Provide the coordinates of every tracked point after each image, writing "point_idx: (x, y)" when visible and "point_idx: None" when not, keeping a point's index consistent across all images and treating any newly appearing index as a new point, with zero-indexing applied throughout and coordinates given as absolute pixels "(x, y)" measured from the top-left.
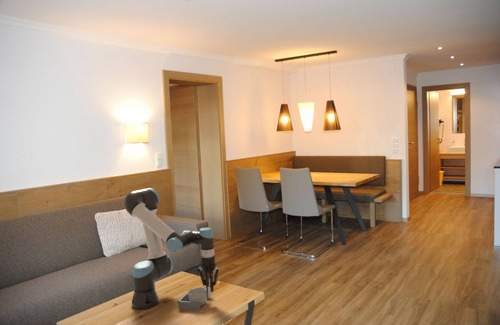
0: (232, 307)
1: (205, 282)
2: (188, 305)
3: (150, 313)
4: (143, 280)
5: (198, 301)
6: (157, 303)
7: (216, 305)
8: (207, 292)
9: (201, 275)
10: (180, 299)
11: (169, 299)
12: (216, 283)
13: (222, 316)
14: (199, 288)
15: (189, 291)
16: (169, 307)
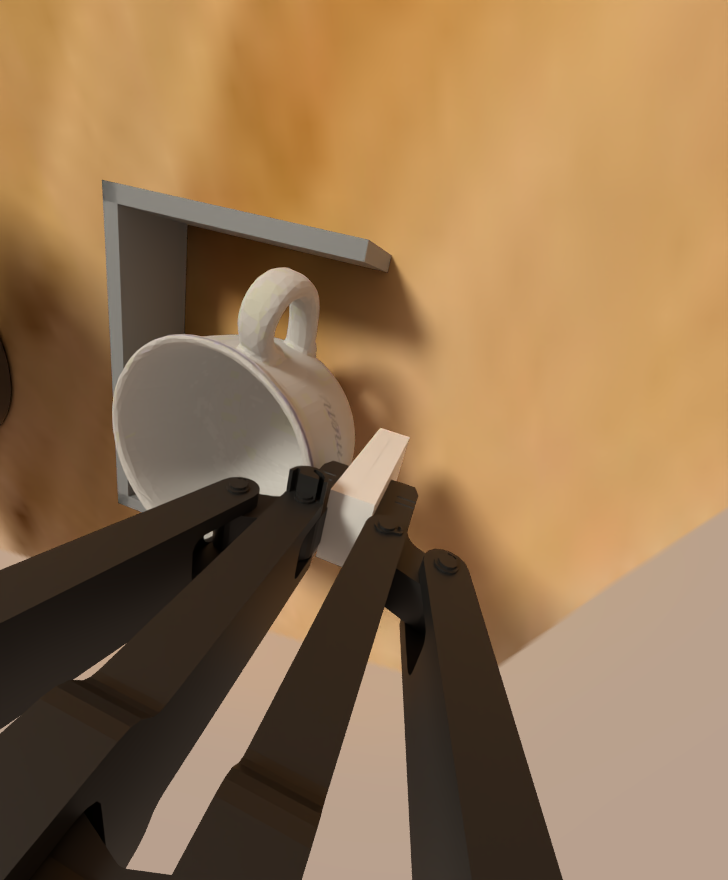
0: (625, 534)
1: (241, 529)
2: None
3: (46, 495)
4: None
5: None
6: (2, 370)
7: (457, 460)
8: (329, 255)
9: (34, 685)
10: (122, 470)
11: (36, 274)
12: (465, 574)
13: (511, 656)
14: (205, 346)
15: (126, 408)
16: (104, 431)
